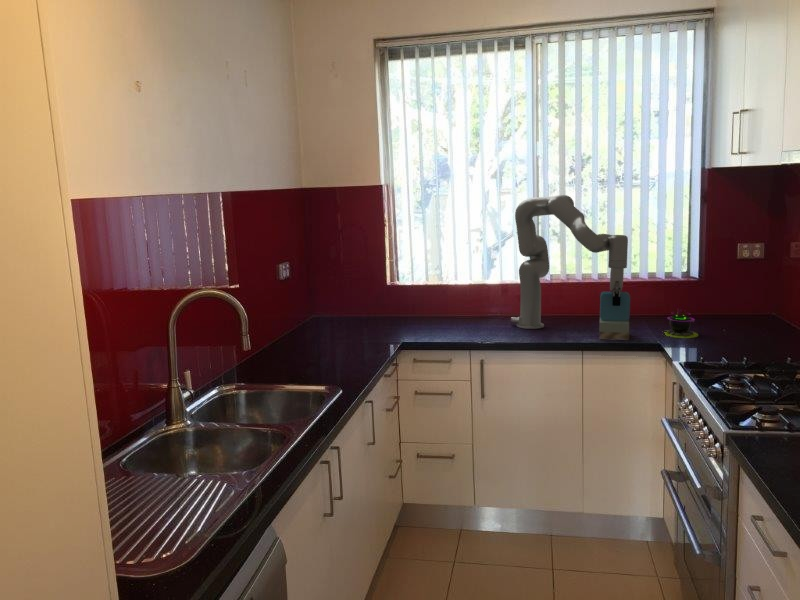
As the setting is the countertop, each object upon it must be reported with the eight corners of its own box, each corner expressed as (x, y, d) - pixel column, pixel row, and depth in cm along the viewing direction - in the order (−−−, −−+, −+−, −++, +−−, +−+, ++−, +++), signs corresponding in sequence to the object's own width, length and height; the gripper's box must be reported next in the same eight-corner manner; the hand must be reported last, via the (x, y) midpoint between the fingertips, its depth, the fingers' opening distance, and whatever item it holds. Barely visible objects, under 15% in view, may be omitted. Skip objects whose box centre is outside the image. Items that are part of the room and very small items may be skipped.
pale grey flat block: (599, 331, 284) (599, 322, 283) (599, 325, 296) (599, 316, 295) (628, 333, 280) (629, 323, 279) (628, 326, 292) (628, 317, 291)
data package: (628, 319, 288) (629, 291, 286) (629, 321, 284) (630, 293, 281) (599, 318, 291) (600, 291, 288) (600, 320, 286) (601, 293, 284)
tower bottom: (599, 340, 284) (599, 331, 284) (600, 333, 297) (601, 325, 296) (629, 342, 281) (629, 333, 280) (629, 335, 293) (629, 326, 292)
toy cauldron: (702, 333, 292) (704, 308, 290) (692, 340, 281) (694, 314, 279) (667, 329, 302) (668, 305, 300) (656, 335, 290) (657, 310, 288)
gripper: (608, 261, 292) (607, 299, 295) (608, 266, 276) (606, 307, 279) (626, 261, 290) (625, 300, 293) (627, 266, 273) (625, 307, 276)
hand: (616, 303), depth 286 cm, fingers open, 9 cm apart
